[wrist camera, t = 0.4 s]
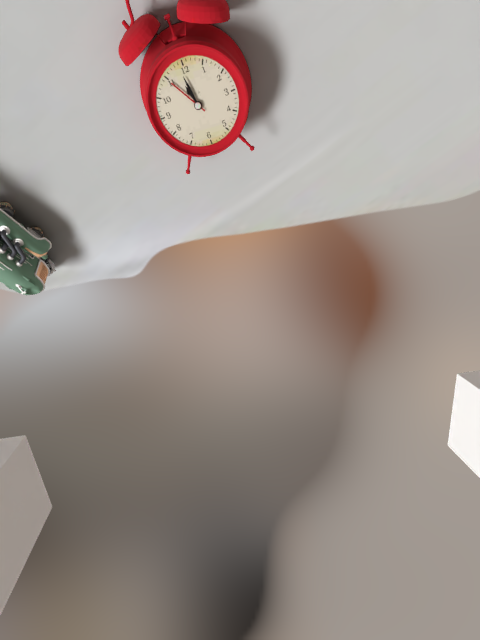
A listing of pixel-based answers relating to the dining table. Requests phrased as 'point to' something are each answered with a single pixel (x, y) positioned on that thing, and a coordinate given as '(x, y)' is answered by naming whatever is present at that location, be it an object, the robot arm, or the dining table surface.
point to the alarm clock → (191, 77)
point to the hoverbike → (22, 254)
